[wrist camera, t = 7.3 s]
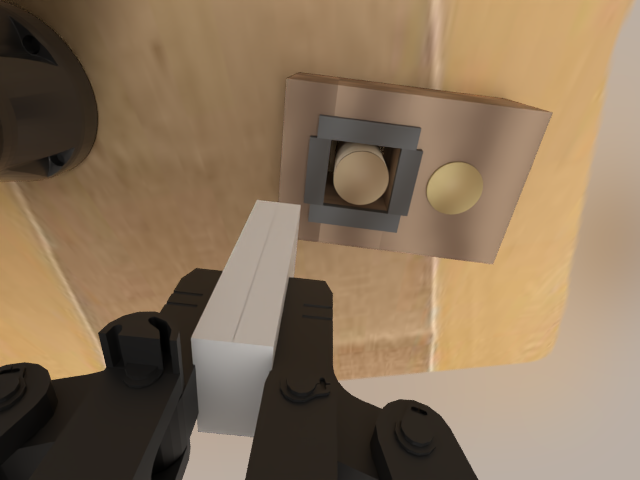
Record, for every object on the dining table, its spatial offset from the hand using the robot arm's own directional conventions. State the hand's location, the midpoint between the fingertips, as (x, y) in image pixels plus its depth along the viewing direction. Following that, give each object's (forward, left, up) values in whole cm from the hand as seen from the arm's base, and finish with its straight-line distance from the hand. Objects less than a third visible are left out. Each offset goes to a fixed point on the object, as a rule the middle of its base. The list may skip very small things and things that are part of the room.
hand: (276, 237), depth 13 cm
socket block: (+7, -2, -23) cm, 24 cm away
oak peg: (+4, -2, -23) cm, 23 cm away
